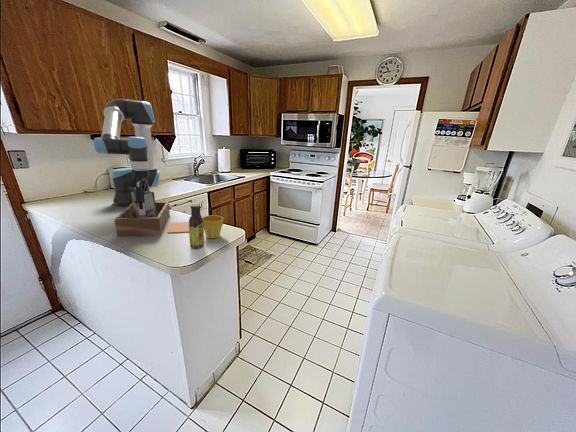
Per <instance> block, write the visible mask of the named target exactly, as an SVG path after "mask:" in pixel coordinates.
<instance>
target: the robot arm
mask: <svg viewBox="0 0 576 432" xmlns="http://www.w3.org/2000/svg"><path fill="white" fill-rule="evenodd" d="M102 112H103V116H104V118H103V119H104V120H103V124H102V132H101V135H100V136H99V137H94V139H93V145H94V150H95V152H96V153H97V154H105V155H129V159H130V160H129V161H130V162H129V165H130V167H121V168H116V169H113V170H112V172H111V173H112V174H111V175H112V177H111V178H112V183H113V188H114V196H113V200H112V205H114V206H116V207H117V206H118V207H128V206H129V205H130V204H131V203H133V200H132V194H131V192H133V191H136V203H138V209H139V215H146V213H145V204H144V197H143V194H144V190H146V191H150V188H151V189H153V188H158V187H159V185H160V170H159V169H158V168H157V167H156V166H155V162H154V161H155V160H154V153H153V143H152V140H153V139H152V132H151V128H152V127H153V126H154V125H153V123H155V122H156V119H155V115H154V111H153V107H152V104H151V103H150V102H148V101H144V100H136V99H128V98H127V99H126V98H116V99H113V100H111V101H109V102H108V103H107V104H106V105H105V106H104V108H103V111H102ZM125 120H126V121H130V124H131V125H132V126H133V127H134V133H135V134H134V136H128V137H127V138H121V131H122V130H121V129H122V122H123V121H125ZM150 192H151V191H150Z"/></svg>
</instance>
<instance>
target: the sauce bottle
mask: <svg viewBox="0 0 576 432" xmlns="http://www.w3.org/2000/svg"><path fill="white" fill-rule="evenodd" d="M201 209H202V207H201V204H198V203H197V204H196V203H195V204H191V205H190V211H191V212H190V213H191V214H190V217H189V219H188V222H189V232H188V233H189V235H188V236H189V246H190V248H191V249H192V250H193V249H194V250H198V249H201V248H203V247H205V230H204V222H203V219H202V218H203V217H202V214H201Z"/></svg>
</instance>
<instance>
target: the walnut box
mask: <svg viewBox="0 0 576 432" xmlns="http://www.w3.org/2000/svg"><path fill="white" fill-rule="evenodd" d="M155 207H156V216H157V217H155V218H135V214H134V207H133V203H131V204H130V205H129V206H126V208H125V209H124V210H123V211H122V212H120V214H119V215H117V216H116V217H115V218H114V225H115V229H116V237H118V238H121V237H123V238H125V237H147V236H148V237H149V236H150V237H152V236H162V233H163V232H164V229H165V227H166V226H167V222H169V219H170V214H171V213H170V204H169V201H155Z"/></svg>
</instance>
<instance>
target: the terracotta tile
mask: <svg viewBox="0 0 576 432" xmlns="http://www.w3.org/2000/svg"><path fill="white" fill-rule="evenodd" d="M182 233H186V234H187V233H189V221H177V222H173V221H172V222H171V223H170V225H169V228H168V230H167V234H182Z"/></svg>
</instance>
